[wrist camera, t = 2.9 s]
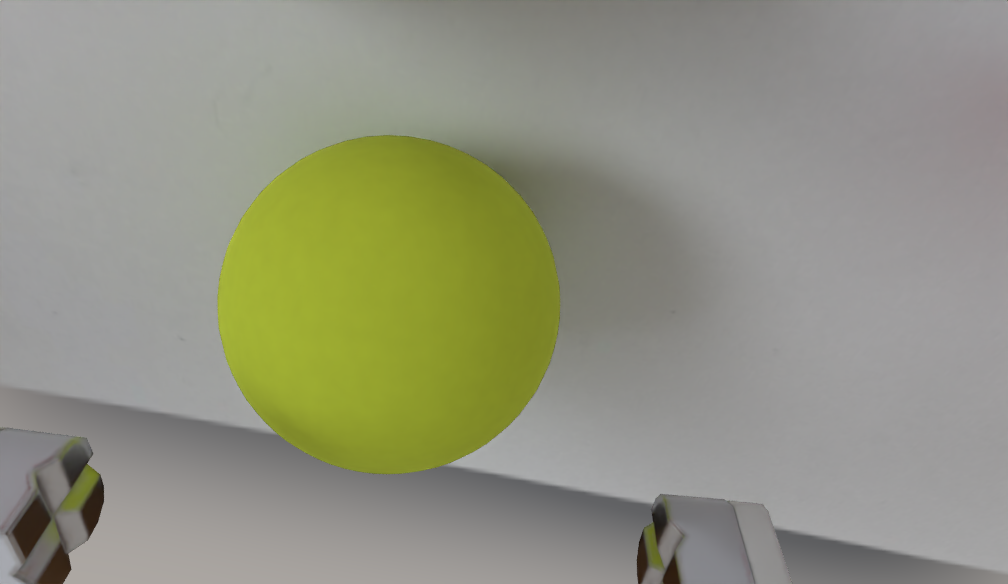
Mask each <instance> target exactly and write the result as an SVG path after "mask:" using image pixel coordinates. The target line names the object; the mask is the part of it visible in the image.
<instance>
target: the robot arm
mask: <svg viewBox="0 0 1008 584" xmlns="http://www.w3.org/2000/svg"><path fill="white" fill-rule="evenodd" d="M92 455H93V452H92V449H91V447H90V445H89V442H88V440H87V438H84V437H75V436H68V435H60V434H52V433H44V432H36V431H28V430H20V429H13V428H4V427H0V584H63V583H64V581H65V579H66V577H67V576H68V574H69V572H70V571H71V565H70V560H69V555H68V553H70V552H71V551H73V550H74V549H76V548H77V547H79V546H80V545H82V544H83V543H85V542H86V541H88V539H89V537H90V535H91V534H92V532H93V530H94V528H95V526H96V524H97V523H98V520H99V517H100V513H101V509H102V505H103V502H104V485H103V482H102V479H101V475H100V474H99V473H97V472H96V471H95V470H94V469H92V468H91V467H90V466H89V465H88V464H87V463H88V461H89V459H90V458H91V456H92ZM651 510H652V516H653V523H651V524H650V525H648V526H646V527H645V528H644V529H643V532H642V535H641V539H640V541H639V547H638V555H637V577H638V584H792V581H791V578H790V575H789V572H788V569H787V566H786V563H785V560H784V557H783V554H782V551H781V548H780V545H779V542H778V539H777V536H776V533H775V530H774V527H773V524H772V521H771V518H770V515H769V512H768V510H767V509H766V508H765V507H764V505H763V504H758V503H747V502H737V501H726V500H725V499H713V498H702V497H690V496H678V495H667V494H660V495H659V496H658V497H657V498H656V499H655V501H654V504H653V506H652V509H651Z"/></svg>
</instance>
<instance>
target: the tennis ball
mask: <svg viewBox="0 0 1008 584" xmlns="http://www.w3.org/2000/svg"><path fill="white" fill-rule="evenodd" d="M559 320H560V287H559V281H558V276H557V271H556V266H555V262H554V257H553V254H552V251H551V249H550V246H549V243H548V240H547V238H546V236H545V234H544V232H543V230H542V228H541V226H540V224H539V222H538V220H537V219H536V217H535V215H534V213H533V212H532V210H531V209H530V208H529V206H528V205H527V204H526V202H525V201H524V200H523V198H522V197H521V196H520V195H519V194H518V193H517V192H516V191H515V190H514V189H513V188H512V187H511V186H510V185H509V184H508V183H507V182H506V181H505V180H504V178H503V177H501V176H500V175H499V174H497V173H496V172H495V171H494V170H492V169H491V168H490V167H488V166H487V165H486V164H484V163H482V162H481V161H479V160H477V159H475V158H474V157H472V156H470V155H469V154H466V153H464V152H462V151H460V150H457V149H455V148H453V147H450V146H447V145H444V144H441V143H438V142H434V141H431V140H426V139H421V138H415V137H409V136H393V135H384V136H369V137H362V138H357V139H352V140H347V141H344V142H341V143H338V144H335V145H332V146H329V147H326V148H324V149H321V150H318V151H316V152H314V153H312V154H310V155H308V156H307V157H305V158H303V159H301V160H299V161H298V162H297V163H295V164H294V165H292V166H291V167H289V168H288V169H287V170H285V171H284V172H283V173H281V174H280V175H279V176H277V177H276V178H275V179H274V180H273V181H272V182H271V183H270V184H269V185H268V186H267V187H266V188H265V189H264V190H263V191H262V192H261V193H260V194H259V195H258V197H257V198H256V199H255V200H254V202H253V203H252V204H251V206H250V207H249V208H248V210H247V211H246V213H245V214H244V215H243V217H242V218H241V220H240V222H239V224H238V226H237V228H236V230H235V232H234V234H233V237H232V239H231V241H230V243H229V245H228V248H227V251H226V254H225V258H224V261H223V265H222V269H221V274H220V279H219V288H218V323H219V331H220V335H221V340H222V344H223V348H224V352H225V356H226V360H227V362H228V365H229V367H230V370H231V372H232V374H233V376H234V378H235V380H236V382H237V384H238V386H239V388H240V390H241V391H242V393H243V395H244V396H245V398H246V400H247V401H248V402H249V404H250V405H251V406H252V407H253V409H254V410H255V411H256V412H257V414H258V415H259V416H260V417H261V418H262V419H263V420H264V422H265V423H267V424H268V425H269V426H270V427H271V428H272V429H273V430H274V431H275V432H276V433H277V434H278V435H280V436H281V437H282V438H283V439H285V440H286V441H287V442H289V443H291V444H292V445H294V446H295V447H297V448H298V449H300V450H302V451H303V452H305V453H307V454H309V455H311V456H313V457H315V458H317V459H319V460H321V461H324V462H326V463H329V464H331V465H335V466H338V467H341V468H345V469H349V470H353V471H358V472H365V473H374V474H402V473H409V472H416V471H423V470H427V469H432V468H436V467H439V466H442V465H445V464H448V463H451V462H453V461H455V460H458V459H460V458H462V457H464V456H466V455H468V454H470V453H472V452H474V451H476V450H477V449H479V448H480V447H482V446H484V445H485V444H487V443H488V442H489V441H491V440H492V439H493V438H494V437H496V436H497V435H498V434H499V433H501V432H502V431H503V430H504V429H505V428H506V427H508V426H509V425H510V424H511V423H512V422H513V420H514V419H515V418H516V417H517V416H518V415H519V414H520V413H521V411H522V410H523V409H524V407H525V406H526V405H527V403H528V402H529V401H530V399H531V398H532V396H533V395H534V394H535V392H536V391H537V389H538V387H539V385H540V383H541V381H542V378H543V376H544V374H545V372H546V370H547V368H548V366H549V364H550V361H551V357H552V354H553V351H554V347H555V343H556V339H557V335H558V327H559Z"/></svg>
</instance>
